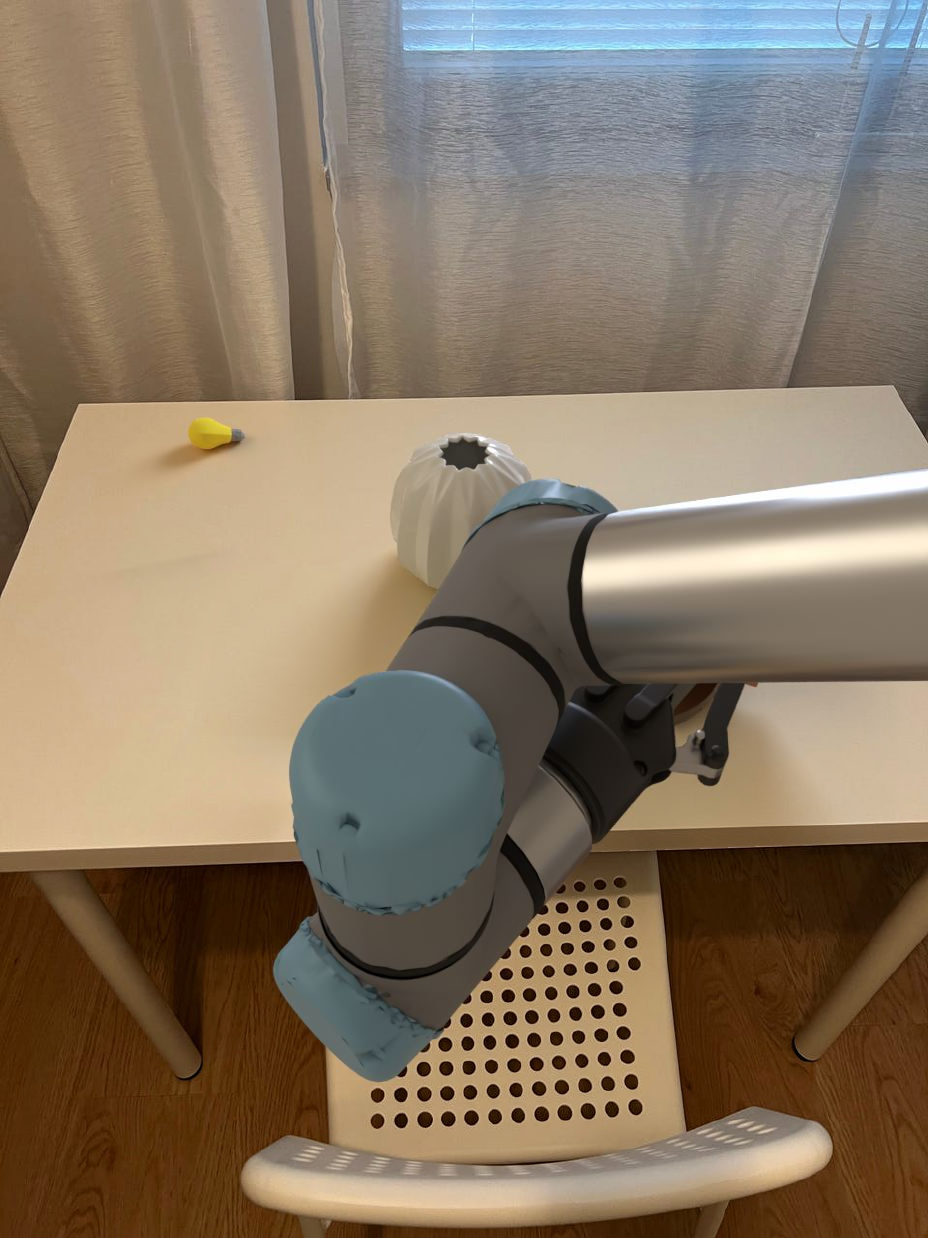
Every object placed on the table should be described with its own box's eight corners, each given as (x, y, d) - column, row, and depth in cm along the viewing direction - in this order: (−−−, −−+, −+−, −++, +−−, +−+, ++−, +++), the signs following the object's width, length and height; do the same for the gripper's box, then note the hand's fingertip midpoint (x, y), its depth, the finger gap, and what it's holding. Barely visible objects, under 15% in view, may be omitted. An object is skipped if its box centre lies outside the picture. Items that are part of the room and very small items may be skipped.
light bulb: (185, 442, 104) (187, 411, 102) (240, 446, 106) (242, 415, 104) (189, 453, 101) (190, 421, 99) (245, 456, 103) (248, 424, 102)
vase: (533, 515, 96) (542, 407, 86) (531, 617, 87) (541, 510, 77) (400, 508, 97) (394, 401, 87) (384, 609, 88) (375, 502, 78)
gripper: (446, 765, 54) (670, 547, 66) (635, 907, 48) (843, 641, 60) (444, 686, 48) (690, 463, 60) (657, 836, 43) (883, 558, 54)
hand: (766, 552), depth 60 cm, fingers closed
